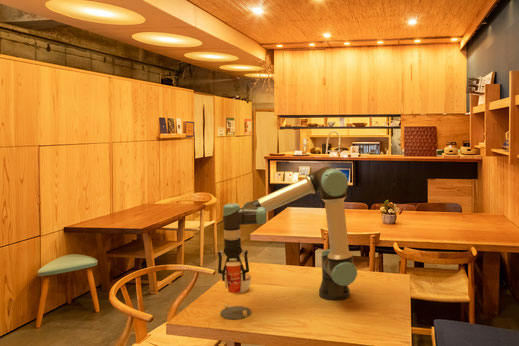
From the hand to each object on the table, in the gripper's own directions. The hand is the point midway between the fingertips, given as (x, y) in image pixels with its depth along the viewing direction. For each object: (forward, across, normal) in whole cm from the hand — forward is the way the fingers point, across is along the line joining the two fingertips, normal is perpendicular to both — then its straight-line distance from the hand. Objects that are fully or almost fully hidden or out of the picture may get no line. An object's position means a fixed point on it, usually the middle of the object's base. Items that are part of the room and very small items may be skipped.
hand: (234, 287), depth 232 cm
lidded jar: (+13, -1, -31) cm, 33 cm away
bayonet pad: (+12, 0, 0) cm, 12 cm away
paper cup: (+2, 0, 0) cm, 2 cm away
